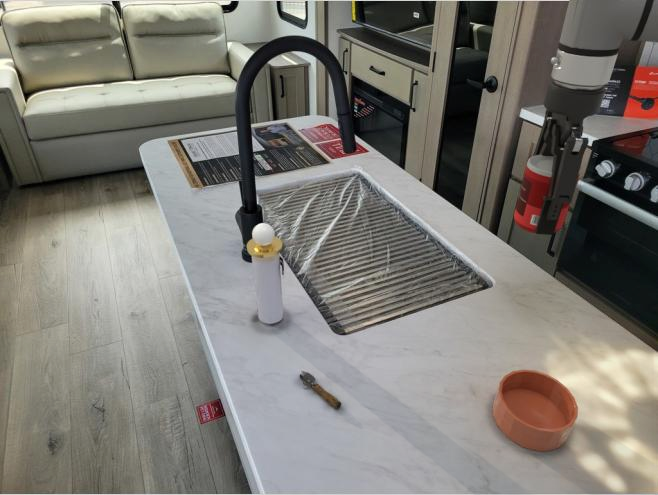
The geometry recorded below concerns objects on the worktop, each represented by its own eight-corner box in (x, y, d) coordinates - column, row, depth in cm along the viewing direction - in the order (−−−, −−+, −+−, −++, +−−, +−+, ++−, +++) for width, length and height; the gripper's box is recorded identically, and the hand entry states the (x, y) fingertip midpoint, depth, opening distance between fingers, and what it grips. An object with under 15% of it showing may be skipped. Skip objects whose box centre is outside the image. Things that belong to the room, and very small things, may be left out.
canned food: (572, 229, 79) (593, 169, 73) (533, 239, 77) (551, 177, 70) (540, 208, 85) (556, 150, 79) (503, 216, 83) (517, 158, 76)
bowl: (557, 392, 73) (565, 373, 70) (577, 455, 64) (588, 435, 62) (487, 386, 74) (493, 366, 71) (499, 446, 65) (506, 426, 63)
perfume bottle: (261, 333, 83) (251, 238, 72) (250, 313, 87) (239, 220, 76) (292, 322, 85) (286, 229, 74) (280, 303, 89) (273, 212, 78)
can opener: (342, 406, 71) (342, 401, 70) (330, 415, 69) (330, 410, 69) (305, 370, 76) (305, 365, 76) (293, 377, 75) (293, 372, 74)
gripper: (534, 63, 76) (505, 190, 89) (570, 104, 59) (528, 253, 72) (583, 65, 75) (546, 192, 88) (634, 106, 59) (579, 256, 72)
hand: (538, 219), depth 80 cm, fingers closed on canned food, 8 cm apart
